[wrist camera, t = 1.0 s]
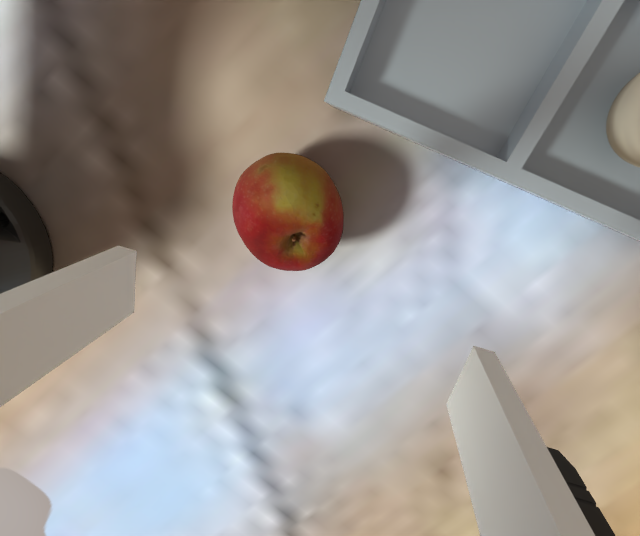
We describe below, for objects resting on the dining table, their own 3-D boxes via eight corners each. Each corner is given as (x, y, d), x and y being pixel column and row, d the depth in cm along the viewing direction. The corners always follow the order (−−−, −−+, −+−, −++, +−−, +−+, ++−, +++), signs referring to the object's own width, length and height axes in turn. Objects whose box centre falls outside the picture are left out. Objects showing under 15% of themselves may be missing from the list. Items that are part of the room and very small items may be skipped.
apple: (265, 254, 31) (227, 290, 23) (247, 157, 28) (198, 162, 21) (352, 248, 29) (342, 284, 22) (342, 144, 27) (326, 145, 19)
